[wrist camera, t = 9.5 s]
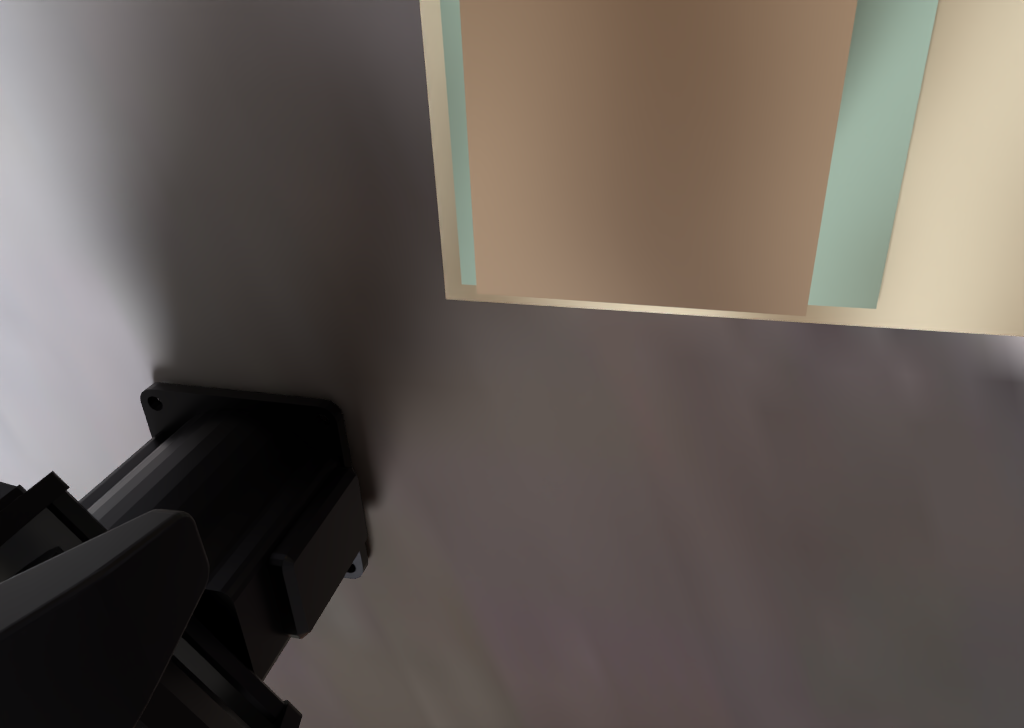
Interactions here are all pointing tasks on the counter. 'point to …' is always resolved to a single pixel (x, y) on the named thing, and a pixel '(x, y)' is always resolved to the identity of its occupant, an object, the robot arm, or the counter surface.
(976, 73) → the birch board
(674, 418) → the counter surface
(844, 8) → the walnut block
